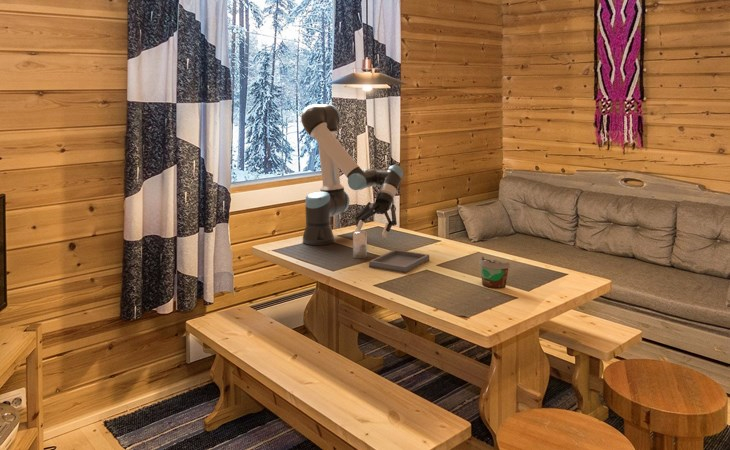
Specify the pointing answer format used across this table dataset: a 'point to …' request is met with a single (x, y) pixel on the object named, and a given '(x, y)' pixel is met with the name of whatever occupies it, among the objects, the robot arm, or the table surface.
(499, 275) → the food container
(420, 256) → the slate tray
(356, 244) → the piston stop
